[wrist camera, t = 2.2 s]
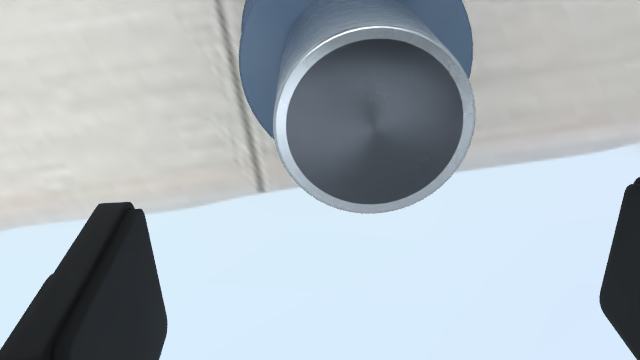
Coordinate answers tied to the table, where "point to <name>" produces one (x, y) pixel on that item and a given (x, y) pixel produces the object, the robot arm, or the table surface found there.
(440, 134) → the silver cup
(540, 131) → the table surface
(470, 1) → the table surface
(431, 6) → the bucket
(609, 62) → the table surface
